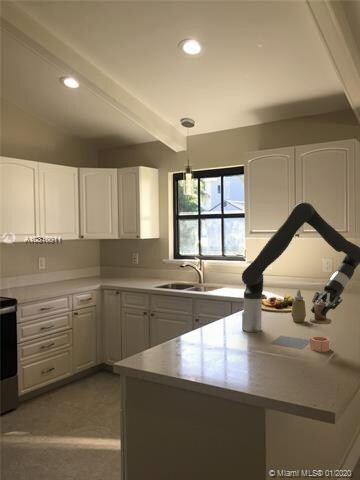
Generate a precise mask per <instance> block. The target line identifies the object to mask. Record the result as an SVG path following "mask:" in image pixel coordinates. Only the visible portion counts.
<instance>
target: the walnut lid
mask: <svg viewBox="0 0 360 480" xmlns="http://www.w3.org/2000/svg"><path fill="white" fill-rule="evenodd" d="M324 307H326V302H325V303H320V302H318V303H315V313H313V314H314V316H313V317H309V322H310V323H312V324H316V325H330V324H332V319H331V318H328V317H327V314H326V315H325V316H322V314H321V311H322V310H323V308H324Z"/></svg>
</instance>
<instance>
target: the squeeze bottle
mask: <svg viewBox="0 0 360 480" xmlns="http://www.w3.org/2000/svg"><path fill="white" fill-rule="evenodd" d="M294 299H295V300H293V304H292V312H290V313H291V318H292V320H293V322H295V323H304V321H305V319H306V317H307V311H306V310H307V309H306V301H305V300H304V296H303V295H302V293H301V289H297V293H296V295H294Z"/></svg>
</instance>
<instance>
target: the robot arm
mask: <svg viewBox="0 0 360 480" xmlns="http://www.w3.org/2000/svg"><path fill="white" fill-rule="evenodd" d="M305 223H306V224H308V226H310V227H312V228H313V229H314V230H315V231H316V232H317V233H318V235H320V237H322V239H323V240H324V241H325V243H327V244H328V245H329V246H330V247H331V248H332V249H334V251H336V252H337V253H341V252H342V253H344V254H345V255H344V257H343V259H342V261H341V263H340V265H339V266H338V267H337V269H336V270H335V271H334V273H333V274H332V275H331V277H330V278H329V280H328V281H327V282H326V284H325V286H324V289H323V291H321V292H318V291H316V292H315V294H314V296H313V299H312V300H311V303H313V306H312V307H311V308H310V311H311V313H312V314H314V313H315V303H325V304H326V307H324V308H323V310H322V311H321V314H322V316H325V315H326V316H327V314H328V313H329V311H330V310H335V309H336V308H338V306H339V305H340V304H341V303H342V302H343V299H342V298H341V295H342V293H343V292H344V290H345V289H346V288H347V286H348V284H349V282H350V280H351V279H352V277H353V276H354V274H355V270H356V268H357V267H358V266H359V265H360V247H359V246H358V245H357V244H355V243H353V242H351V241H349V240H347V238H345V237H344V235H342V234H341V233H340V232H339V231H337V230H336V229H335V228H334V227H333V226H332V225H331V224H330V223H328V222H327V221H326V220H325V219H324V218H323V217H322V216H321V215H320V214H319V213H318V212H317V210H316V208H314V206H313V205H312V204H311V203H309V202H303V201H302V202H299V203H297V204H295V206H294V208H293V209H292V211H291V212H290V214H289V215H288V217H287V219H286V220H285V221H284V223H283V224H282V225H280V227H279V228H278V229H277V230H276V231H275V232H274V233H273V235H272V236H271V237H270V238H269V239H268V241H267V242H266V244H265V245H264V247H263V248H262V249H261V250H260V251H259V253H258V255H257V256H256V258H255V259H254V260H253V261H252V262H251V263H250V264H249V265H248V266H247V267H246V268H245V269H244V270H243V272H242V274H241V280H242V282H243V284H244V285H245V290H244V292H243V311H242V313H241V320H242V322H241V324H242V325H241V328H242V329H241V330H242V331H244V332H247V333H257V332H260V331H262V328H263V327H262V317H263V316H262V315H263V314H262V294H263V292H264V291H263V290H264V272H265V271H266V270H267V268H268V267H269V266H270V265H272V264H273V263H274V262H275V261H276V260H277V259H279V258H280V257H281V255H282V254H283V253H284V252H285V251H286V250H287V249H288V247H289V245H290V244H291V242H292V241H293V239H294V236H295V235H296V233H297V232H298V230H300V228H301V227H303V225H305Z"/></svg>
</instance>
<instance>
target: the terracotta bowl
mask: <svg viewBox="0 0 360 480" xmlns="http://www.w3.org/2000/svg"><path fill="white" fill-rule="evenodd" d="M309 340H310V342H309V348H310V349H311V350H312V351H316V352H325V353H326V352H329V351H330V349H331V339H330V338H329V337H327V336H320V335H317V336H314V335H313V336H311V337H309Z"/></svg>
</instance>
